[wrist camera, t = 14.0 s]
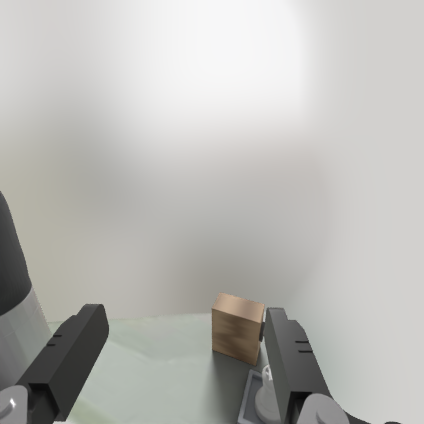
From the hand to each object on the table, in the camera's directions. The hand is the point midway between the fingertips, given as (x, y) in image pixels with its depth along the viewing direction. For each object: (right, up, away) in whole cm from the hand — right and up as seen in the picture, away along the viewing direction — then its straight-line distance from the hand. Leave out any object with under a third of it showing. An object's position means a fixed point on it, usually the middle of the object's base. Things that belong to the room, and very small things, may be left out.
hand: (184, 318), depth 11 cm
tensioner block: (+6, -20, +30) cm, 37 cm away
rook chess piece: (+10, -23, +21) cm, 33 cm away
